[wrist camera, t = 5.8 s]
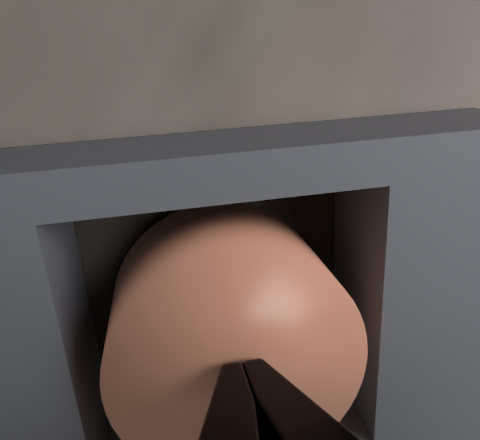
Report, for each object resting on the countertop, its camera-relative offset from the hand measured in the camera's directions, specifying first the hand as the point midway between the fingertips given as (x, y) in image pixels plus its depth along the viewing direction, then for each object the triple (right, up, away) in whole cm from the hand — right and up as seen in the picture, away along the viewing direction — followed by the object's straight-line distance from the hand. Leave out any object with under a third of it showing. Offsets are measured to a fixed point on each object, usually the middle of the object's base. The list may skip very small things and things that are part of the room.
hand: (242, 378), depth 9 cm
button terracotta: (-1, +1, +3) cm, 3 cm away
